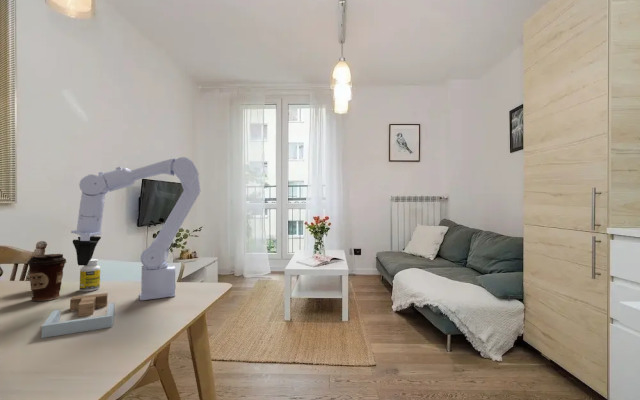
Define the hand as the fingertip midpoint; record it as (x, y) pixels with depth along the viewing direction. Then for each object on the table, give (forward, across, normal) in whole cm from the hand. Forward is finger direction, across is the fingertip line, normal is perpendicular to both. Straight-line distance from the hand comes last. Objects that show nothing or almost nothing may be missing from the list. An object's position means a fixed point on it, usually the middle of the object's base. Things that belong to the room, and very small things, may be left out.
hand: (84, 262), depth 91 cm
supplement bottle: (+12, -14, +1) cm, 18 cm away
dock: (+10, +22, +3) cm, 24 cm away
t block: (+11, +10, +3) cm, 15 cm away
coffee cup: (+12, -8, -9) cm, 17 cm away
